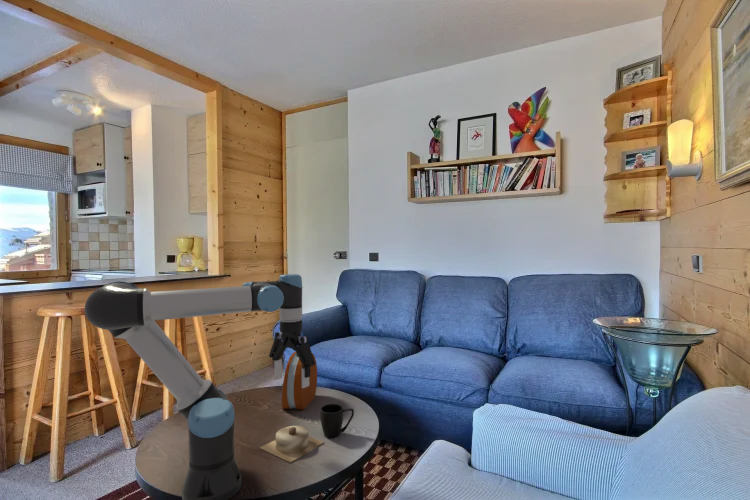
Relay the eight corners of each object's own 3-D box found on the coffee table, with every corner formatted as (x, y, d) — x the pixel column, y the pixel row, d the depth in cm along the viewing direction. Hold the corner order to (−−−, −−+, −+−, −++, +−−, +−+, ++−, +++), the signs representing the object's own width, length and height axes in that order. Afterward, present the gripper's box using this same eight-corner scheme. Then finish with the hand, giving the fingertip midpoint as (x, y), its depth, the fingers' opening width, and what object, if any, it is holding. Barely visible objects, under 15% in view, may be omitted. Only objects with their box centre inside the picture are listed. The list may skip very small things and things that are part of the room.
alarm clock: (297, 392, 179) (297, 343, 179) (317, 393, 177) (317, 344, 177) (277, 412, 157) (276, 357, 157) (300, 413, 155) (299, 358, 155)
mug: (354, 439, 134) (354, 412, 134) (319, 441, 133) (319, 413, 133) (353, 428, 143) (353, 402, 143) (321, 429, 141) (320, 404, 141)
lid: (290, 457, 122) (290, 440, 122) (268, 446, 129) (268, 430, 129) (315, 443, 131) (315, 427, 131) (293, 434, 138) (293, 418, 138)
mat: (290, 463, 119) (290, 462, 119) (259, 448, 128) (259, 447, 128) (323, 443, 132) (323, 442, 132) (293, 431, 140) (293, 430, 140)
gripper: (325, 322, 125) (326, 387, 126) (275, 314, 140) (276, 372, 140) (309, 326, 119) (309, 394, 119) (258, 317, 134) (259, 378, 134)
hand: (291, 382), depth 130 cm, fingers open, 13 cm apart
